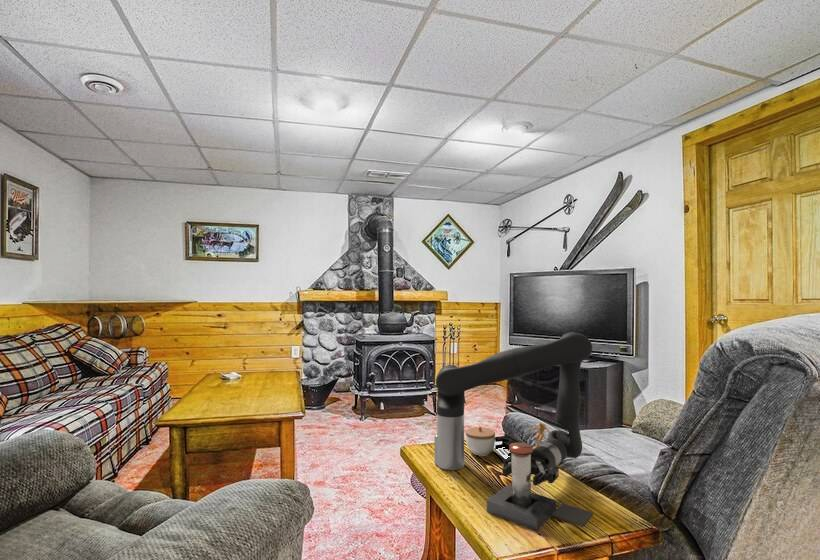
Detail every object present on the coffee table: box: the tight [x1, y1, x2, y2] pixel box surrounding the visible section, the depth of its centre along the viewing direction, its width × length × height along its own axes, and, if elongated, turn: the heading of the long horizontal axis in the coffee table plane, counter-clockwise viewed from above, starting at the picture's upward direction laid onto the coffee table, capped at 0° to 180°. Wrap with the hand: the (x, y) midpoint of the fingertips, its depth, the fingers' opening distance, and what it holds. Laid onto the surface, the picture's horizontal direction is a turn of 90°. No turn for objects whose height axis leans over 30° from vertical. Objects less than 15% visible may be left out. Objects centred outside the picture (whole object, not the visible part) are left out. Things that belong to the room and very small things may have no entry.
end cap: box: [494, 432, 524, 456], centre depth 152 cm, size 10×7×7 cm
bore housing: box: [486, 484, 557, 531], centre depth 114 cm, size 14×12×3 cm
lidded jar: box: [464, 426, 496, 457], centre depth 156 cm, size 11×11×9 cm
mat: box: [551, 502, 594, 528], centre depth 112 cm, size 8×8×1 cm
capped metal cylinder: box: [509, 442, 534, 509], centre depth 114 cm, size 6×6×17 cm
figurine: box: [530, 422, 551, 449], centre depth 152 cm, size 8×6×12 cm
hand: (519, 477), depth 113 cm, fingers open, 8 cm apart
